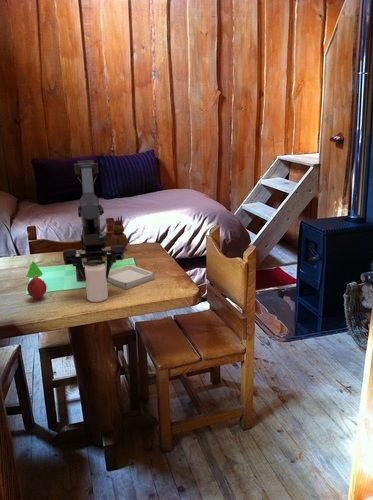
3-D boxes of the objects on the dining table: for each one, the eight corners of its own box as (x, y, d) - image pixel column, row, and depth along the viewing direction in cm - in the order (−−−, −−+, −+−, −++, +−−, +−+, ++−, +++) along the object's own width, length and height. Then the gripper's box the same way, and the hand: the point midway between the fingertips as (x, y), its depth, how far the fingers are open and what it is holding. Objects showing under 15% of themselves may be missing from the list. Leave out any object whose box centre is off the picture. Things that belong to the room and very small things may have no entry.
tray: (100, 279, 162) (100, 273, 161) (129, 269, 171) (129, 264, 170) (125, 289, 153) (125, 283, 152) (154, 279, 161) (154, 273, 161)
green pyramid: (44, 276, 167) (43, 260, 165) (27, 279, 164) (25, 263, 162) (41, 271, 172) (39, 256, 170) (24, 274, 169) (22, 259, 167)
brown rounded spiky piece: (130, 250, 194) (128, 215, 189) (119, 253, 190) (117, 218, 185) (120, 247, 198) (117, 213, 194) (109, 250, 194) (106, 215, 190)
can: (103, 303, 143) (100, 266, 139) (84, 302, 144) (80, 265, 140) (110, 295, 149) (108, 260, 145) (92, 293, 150) (89, 259, 146)
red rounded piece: (37, 304, 143) (34, 280, 141) (24, 300, 146) (21, 276, 143) (51, 297, 148) (48, 274, 145) (39, 294, 151) (36, 271, 148)
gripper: (60, 225, 141) (62, 271, 134) (121, 220, 144) (127, 265, 138) (63, 242, 150) (66, 286, 144) (120, 238, 154) (125, 280, 147)
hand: (96, 279), depth 143 cm, fingers closed on can, 6 cm apart
